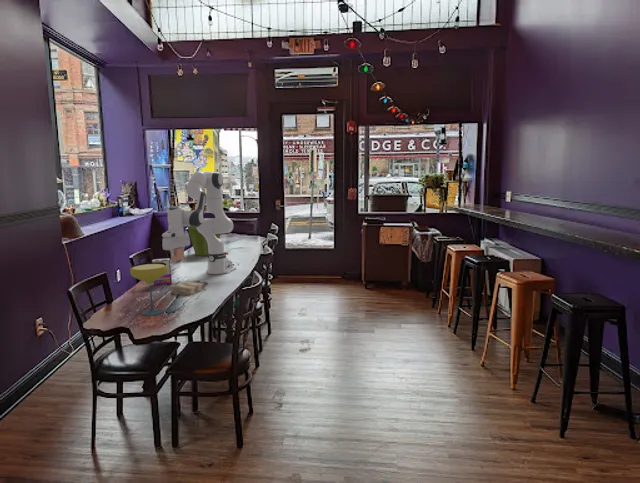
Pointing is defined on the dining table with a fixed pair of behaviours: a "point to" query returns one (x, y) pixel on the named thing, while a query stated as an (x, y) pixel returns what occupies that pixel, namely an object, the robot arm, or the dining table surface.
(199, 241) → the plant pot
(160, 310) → the cocktail glass
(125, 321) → the dining table surface
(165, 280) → the candy bar box
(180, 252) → the block
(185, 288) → the plinth
